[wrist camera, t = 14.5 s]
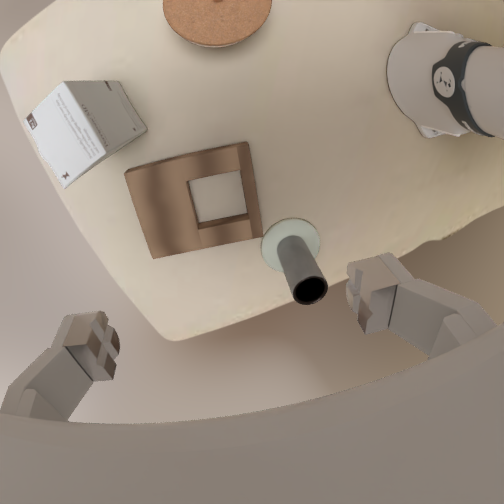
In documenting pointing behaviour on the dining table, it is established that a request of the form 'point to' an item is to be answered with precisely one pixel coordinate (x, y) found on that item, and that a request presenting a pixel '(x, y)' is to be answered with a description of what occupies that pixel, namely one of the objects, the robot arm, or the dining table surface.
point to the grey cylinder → (301, 271)
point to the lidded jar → (216, 19)
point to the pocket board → (191, 201)
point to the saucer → (284, 230)
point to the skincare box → (82, 126)
